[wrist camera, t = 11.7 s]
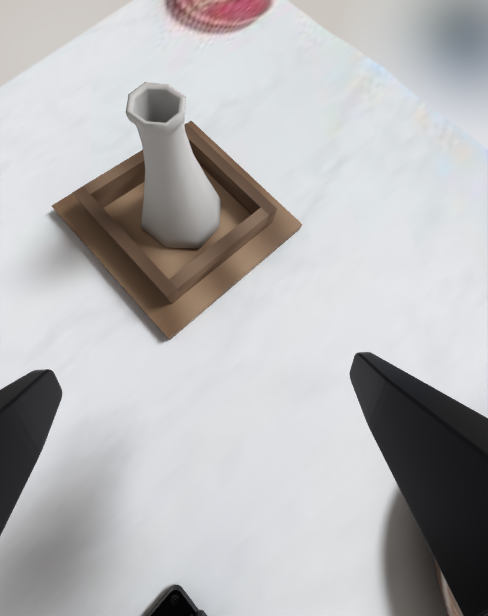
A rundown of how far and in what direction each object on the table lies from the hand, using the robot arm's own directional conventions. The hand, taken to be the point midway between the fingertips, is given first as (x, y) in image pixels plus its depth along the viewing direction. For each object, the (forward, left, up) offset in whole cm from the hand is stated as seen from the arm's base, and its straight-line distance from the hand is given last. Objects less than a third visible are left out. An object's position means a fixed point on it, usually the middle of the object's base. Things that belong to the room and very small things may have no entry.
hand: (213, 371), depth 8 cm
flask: (+7, +13, -13) cm, 20 cm away
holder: (+7, +13, -14) cm, 20 cm away
